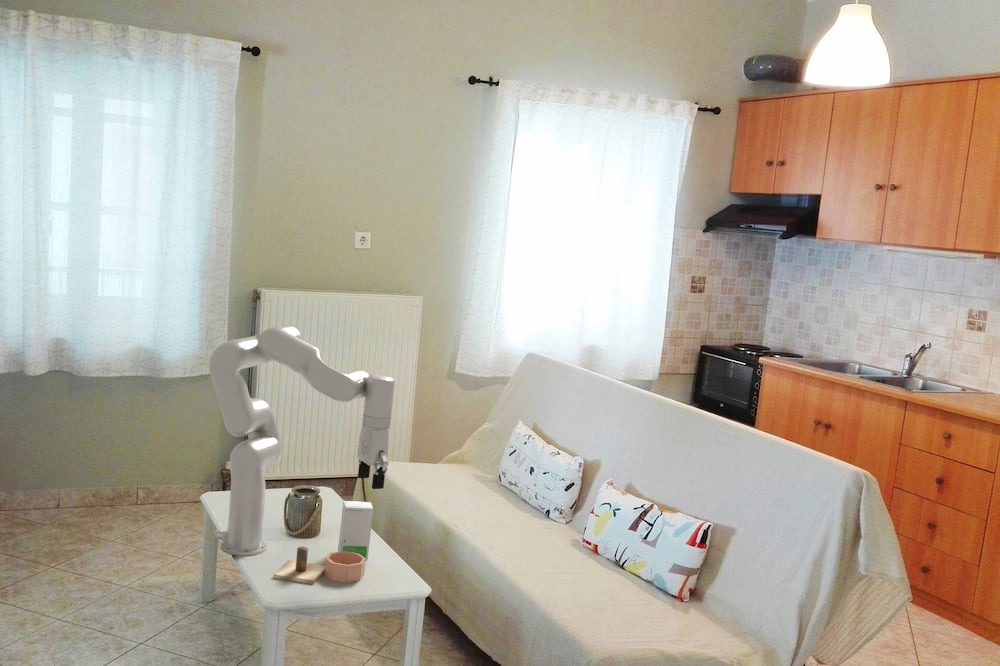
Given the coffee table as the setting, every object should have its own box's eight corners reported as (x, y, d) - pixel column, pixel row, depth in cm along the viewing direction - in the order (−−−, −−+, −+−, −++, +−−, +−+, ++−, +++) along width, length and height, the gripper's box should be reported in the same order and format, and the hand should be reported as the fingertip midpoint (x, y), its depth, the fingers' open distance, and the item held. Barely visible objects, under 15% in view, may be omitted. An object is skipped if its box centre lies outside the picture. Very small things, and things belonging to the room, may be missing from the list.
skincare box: (339, 560, 270) (344, 507, 269) (337, 552, 277) (341, 500, 275) (369, 560, 273) (374, 508, 271) (366, 552, 279) (370, 500, 277)
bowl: (320, 579, 255) (322, 561, 255) (332, 566, 265) (333, 549, 265) (356, 585, 254) (358, 567, 254) (367, 572, 264) (368, 554, 263)
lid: (273, 577, 252) (275, 552, 251) (288, 563, 263) (290, 539, 262) (313, 584, 251) (315, 558, 250) (326, 569, 262) (328, 545, 261)
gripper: (351, 414, 263) (345, 474, 265) (376, 429, 248) (370, 493, 250) (376, 414, 267) (370, 473, 269) (402, 429, 252) (396, 492, 254)
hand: (370, 483), depth 260 cm, fingers open, 9 cm apart
